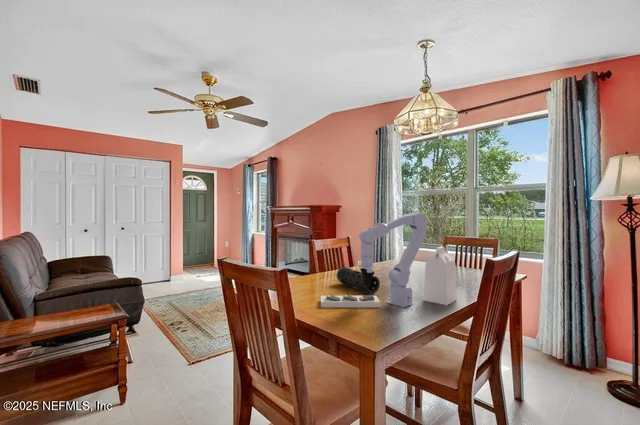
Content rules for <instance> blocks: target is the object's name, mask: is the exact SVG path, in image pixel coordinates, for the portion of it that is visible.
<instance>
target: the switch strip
mask: <svg viewBox="0 0 640 425" xmlns="http://www.w3.org/2000/svg"><path fill="white" fill-rule="evenodd" d="M334 296H335V297H339V301H332V300H329V299H326V295H320V308H381V300H380V299H379V298H378V296H377V295H373V297H374V299H372V300H368V301H361V300H360V297H364V296H365V295H351V296H352V297H356V299H357V301H350V300H346V299H344V298H343V295H334Z"/></svg>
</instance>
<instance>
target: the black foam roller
mask: <svg viewBox="0 0 640 425" xmlns="http://www.w3.org/2000/svg"><path fill="white" fill-rule="evenodd" d="M335 276H336V279H337V281H338V282H339V283H341V284H343V285H346V286H347V287H348V288H355V289H357V290H358V291H360V292H363V293H366V294H368V295H371V294H372V295H373V296H374V294H375V293H377V292H378V291H379V289H380V287H381V286H380V283H381V281H380V279H379V277H377V276H376V275H373V277H372V280H371V285H370V286H365V284H364V281H363V276H362V272H361V271H358V270H355V269H352V268H349V267H345V266H343V267H340V268H339V269H337V271H336V274H335Z"/></svg>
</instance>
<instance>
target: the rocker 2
mask: <svg viewBox="0 0 640 425" xmlns="http://www.w3.org/2000/svg"><path fill="white" fill-rule="evenodd" d="M363 296H364V297H360V300H361V301H368V300H372V299H374V297H373V296H374V294H373V295H372V294H368V295H363Z"/></svg>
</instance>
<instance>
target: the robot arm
mask: <svg viewBox="0 0 640 425" xmlns="http://www.w3.org/2000/svg"><path fill="white" fill-rule="evenodd" d="M428 223H429V221H428V218H427V217H426V215H425V214H424V213H421V212H418V213H417V212H408V213H406V214H403V215H402V216H400V217H397V218H396V219H394V220H392V221H390V222H388V223H385V222H378V223H377V225H375V226H372V227H370V226H369V227H368V229H363V230H362V231H361V232H360V233H359V236H358V237H359V240H360V242H361V244H360V264H358V265H357V266H358V268H359V269H360V272H362V276H363V281H364V284H365V286H370V285H371V280H372V277H373V276H375V275H374V274H375V271H373V269H374V267H375V265H374V242H375V241H376V240H377V239H379V238H381V237H385V236H387V235H388V234H389V232H390V231H391V230H394V229H396V228H398V227H401V226H403V225H408V226H409V227H410V228H411V232H412V236H411V238H410V241H409V242H408V244H407V246H406V248H405V250H404V251H403V253H402V256H401V258H400V260H399V261H398V263H396V265H394V267H393V268H392V269H391V270H390V271H389V273H388V278H389V280H390V300H388V301H386V303H387V304H390V305H393V306H396V307H400V308H406V307H409V306H411V305H414V303H413V289H412V287H410V286H408V285H407V284H409V281H410V275H411V269H410V268H411V266H412V264H413V263H414V261H415V258H416V256H417V254H418V252H419V251H420V248H421V247H422V244H423V243H424V240H425V238H426V236H427V225H428Z"/></svg>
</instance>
